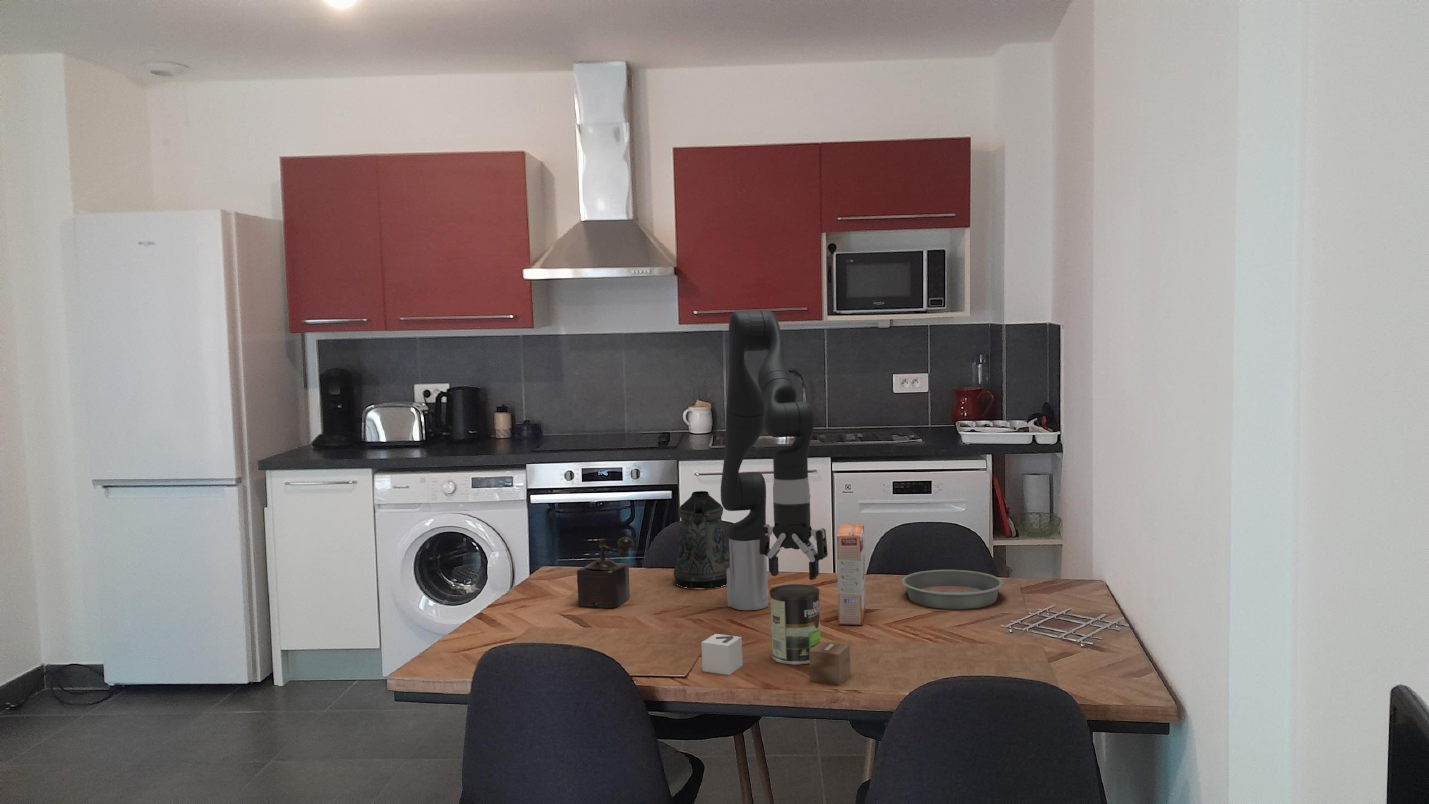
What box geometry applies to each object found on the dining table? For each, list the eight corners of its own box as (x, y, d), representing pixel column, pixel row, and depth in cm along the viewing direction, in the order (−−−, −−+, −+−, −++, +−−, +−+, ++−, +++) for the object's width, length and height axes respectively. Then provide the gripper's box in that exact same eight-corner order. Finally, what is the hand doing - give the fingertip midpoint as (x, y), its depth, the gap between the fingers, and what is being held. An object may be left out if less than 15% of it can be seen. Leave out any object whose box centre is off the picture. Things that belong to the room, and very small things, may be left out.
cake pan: (1024, 598, 240) (1024, 580, 240) (956, 618, 226) (956, 598, 226) (948, 580, 260) (947, 564, 260) (881, 597, 246) (881, 579, 246)
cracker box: (864, 626, 222) (861, 535, 220) (837, 625, 223) (834, 535, 222) (867, 609, 235) (864, 523, 234) (842, 608, 237) (839, 523, 235)
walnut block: (810, 681, 188) (809, 649, 188) (821, 671, 193) (820, 640, 193) (839, 685, 185) (838, 653, 185) (850, 675, 191) (849, 644, 190)
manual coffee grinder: (575, 607, 246) (572, 537, 245) (594, 596, 257) (591, 528, 256) (632, 611, 241) (629, 539, 240) (649, 599, 252) (646, 530, 251)
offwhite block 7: (702, 671, 196) (701, 641, 195) (716, 662, 201) (715, 632, 201) (729, 675, 193) (727, 644, 193) (742, 665, 198) (741, 635, 198)
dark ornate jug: (719, 572, 278) (716, 485, 276) (749, 586, 260) (745, 494, 259) (665, 579, 271) (661, 490, 270) (691, 595, 254) (688, 500, 252)
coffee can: (829, 652, 204) (827, 586, 203) (807, 667, 195) (805, 598, 194) (786, 646, 209) (783, 581, 209) (762, 660, 201) (760, 593, 200)
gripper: (752, 500, 200) (754, 578, 201) (816, 504, 194) (819, 584, 195) (767, 494, 207) (770, 570, 208) (830, 498, 200) (832, 575, 201)
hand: (793, 577), depth 201 cm, fingers open, 8 cm apart
